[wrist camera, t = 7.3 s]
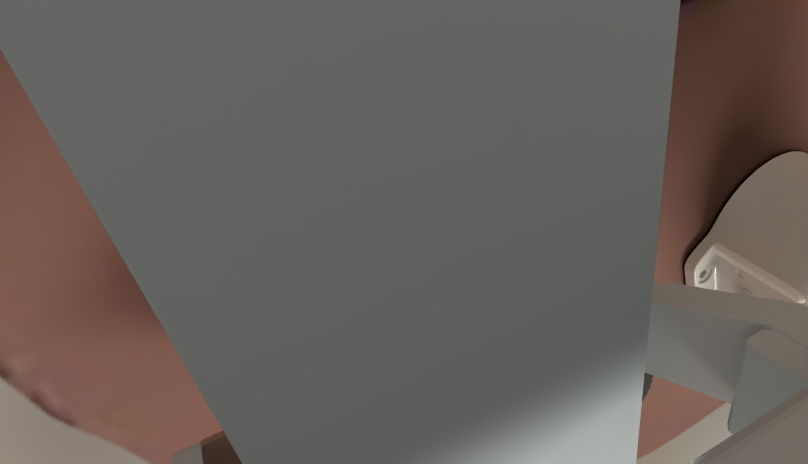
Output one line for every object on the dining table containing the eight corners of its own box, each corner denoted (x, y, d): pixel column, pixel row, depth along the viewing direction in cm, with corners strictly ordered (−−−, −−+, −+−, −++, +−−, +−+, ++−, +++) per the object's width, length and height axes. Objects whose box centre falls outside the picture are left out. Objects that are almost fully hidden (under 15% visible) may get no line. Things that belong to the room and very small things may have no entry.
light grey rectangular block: (24, -102, 7) (-141, -191, 3) (431, -175, 8) (709, -297, 4) (343, 554, 16) (415, 759, 12) (508, 458, 17) (621, 609, 13)
